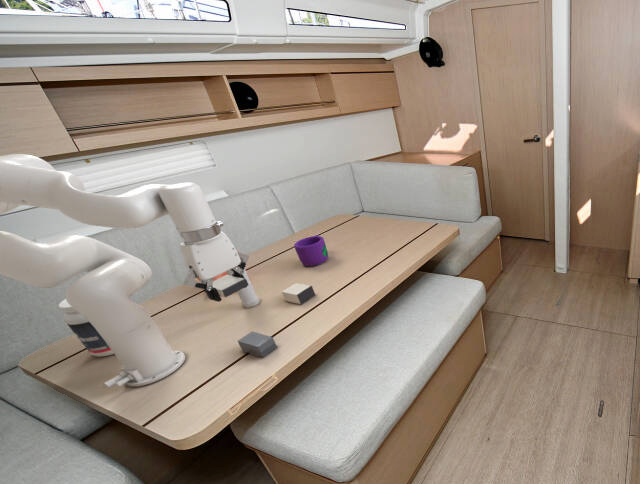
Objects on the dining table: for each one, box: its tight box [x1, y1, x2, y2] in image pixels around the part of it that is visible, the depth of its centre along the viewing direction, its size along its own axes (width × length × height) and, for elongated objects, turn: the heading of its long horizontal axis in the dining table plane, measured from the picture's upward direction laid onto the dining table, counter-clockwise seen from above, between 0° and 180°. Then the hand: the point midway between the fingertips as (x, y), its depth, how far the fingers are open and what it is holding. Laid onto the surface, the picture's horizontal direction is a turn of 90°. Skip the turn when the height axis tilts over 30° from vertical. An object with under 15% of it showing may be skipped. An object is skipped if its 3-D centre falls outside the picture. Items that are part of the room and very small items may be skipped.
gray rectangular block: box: [237, 331, 278, 358], centre depth 103 cm, size 4×9×4 cm, turn 69°
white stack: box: [281, 282, 316, 305], centre depth 127 cm, size 6×8×4 cm
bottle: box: [226, 267, 261, 309], centre depth 121 cm, size 5×5×25 cm
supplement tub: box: [58, 298, 115, 357], centre depth 107 cm, size 13×13×18 cm
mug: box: [293, 234, 329, 267], centre depth 154 cm, size 17×11×10 cm, turn 10°
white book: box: [213, 275, 248, 298], centre depth 94 cm, size 6×8×2 cm
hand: (229, 292), depth 95 cm, fingers closed on white book, 6 cm apart
